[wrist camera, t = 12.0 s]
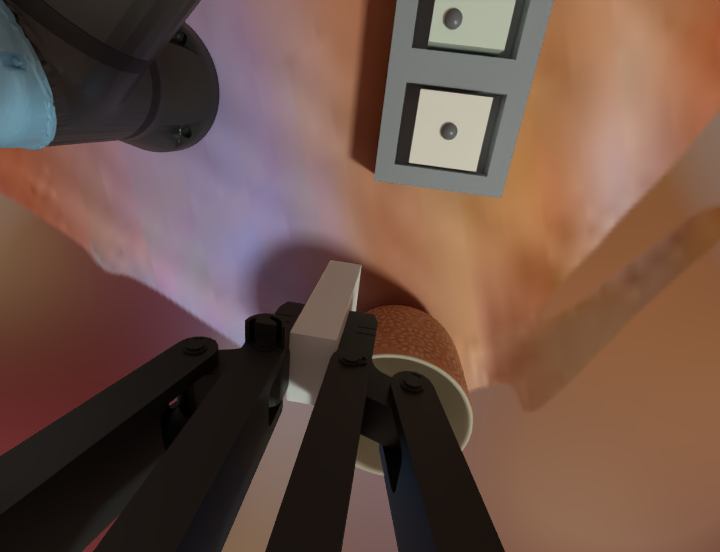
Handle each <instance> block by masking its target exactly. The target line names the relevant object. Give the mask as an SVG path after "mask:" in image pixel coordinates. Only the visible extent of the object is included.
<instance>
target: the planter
mask: <svg viewBox="0 0 720 552" xmlns="http://www.w3.org/2000/svg"><path fill="white" fill-rule="evenodd" d="M364 313H368V314H374V316H375V317H376V319H377V321H378V325H377V331H376V338H375V344H374V350H373V357H372V361H373V364H374V366H375V367H376V368H377V369H378V370H379V371H381V372H382V373H384V374H386V375H388V376H390V377H393V375H394V374H396V373H398V372H401V371H412V372H417V373H419V374H422V375H424V376H425V377H427V378H428V379H429V380H430V381H431V383H432V384H433V386H434V388H435V390H436V393H437V395H438V397H439V400H440V402H441V404H442V406H443V409H444V411H445V413H446V416H447V418H448V420H449V423H450V425H451V427H452V430H453V432H454V434H455V437H456V439H457V441H458V444H459V446H460V448H461V451H462V450H463V449H464V448H465V446H466V444H467V443H468V441H469V438H470V436H471V433H472V428H473V411H472V405H471V401H470V397H469V392H468V389H467V385H466V381H465V377H464V373H463V369H462V365H461V362H460V359H459V355H458V352H457V350H456V347H455V345H454V343H453V341H452V339H451V337H450V335H449V334H448V332H447V331H446V330H445V328H444V327H443V326H442V325H441V324H440V323H439V322H438V321H437V320H436V319H434V318H433V317H432V316H430V315H429V314H427V313H425V312H423V311H421V310H419V309H416V308H413V307H409V306H404V305H386V306H380V307H376V308H373V309H371V310H368V311H366V312H364ZM355 467H357V468H359V469H362V470H364V471H367V472H370V473H374V474H378V475H383V476H384V473H383V468H382V463H381V458H380V452H379V443H377V442H375V441H373V440H371V439H369V438H367V437H365V436H363V435H361V434H360V440H359V445H358V452H357V458H356V464H355Z"/></svg>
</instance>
